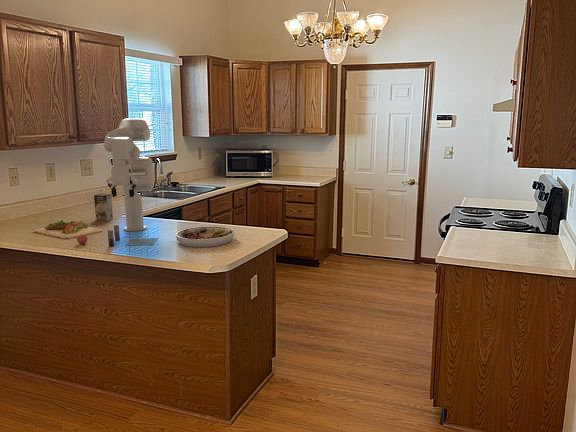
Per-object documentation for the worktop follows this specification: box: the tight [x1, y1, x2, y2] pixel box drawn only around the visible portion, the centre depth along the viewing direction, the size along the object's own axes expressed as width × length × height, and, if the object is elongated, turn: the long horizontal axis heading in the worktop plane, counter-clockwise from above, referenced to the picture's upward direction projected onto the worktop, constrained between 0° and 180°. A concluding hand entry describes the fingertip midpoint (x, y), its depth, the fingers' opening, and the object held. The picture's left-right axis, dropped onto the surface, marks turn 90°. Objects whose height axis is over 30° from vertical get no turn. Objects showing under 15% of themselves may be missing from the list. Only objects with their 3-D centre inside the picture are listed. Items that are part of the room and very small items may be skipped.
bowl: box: [175, 225, 235, 248], centre depth 258 cm, size 30×30×8 cm
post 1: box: [107, 229, 115, 247], centre depth 250 cm, size 3×3×8 cm
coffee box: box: [93, 193, 114, 221], centre depth 316 cm, size 9×6×16 cm
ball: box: [76, 234, 88, 245], centre depth 255 cm, size 5×5×5 cm
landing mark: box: [125, 237, 159, 247], centre depth 258 cm, size 14×14×1 cm
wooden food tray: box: [33, 219, 103, 239], centre depth 284 cm, size 35×23×8 cm
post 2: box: [113, 224, 121, 242], centre depth 262 cm, size 3×3×8 cm
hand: (123, 196), depth 251 cm, fingers open, 9 cm apart
